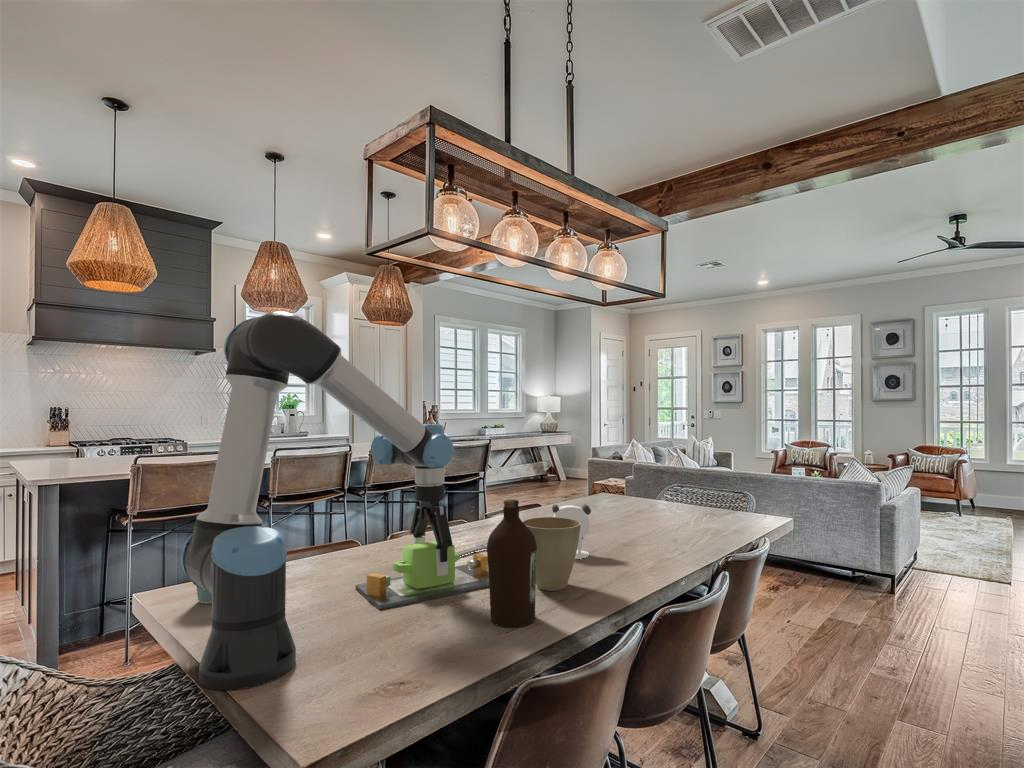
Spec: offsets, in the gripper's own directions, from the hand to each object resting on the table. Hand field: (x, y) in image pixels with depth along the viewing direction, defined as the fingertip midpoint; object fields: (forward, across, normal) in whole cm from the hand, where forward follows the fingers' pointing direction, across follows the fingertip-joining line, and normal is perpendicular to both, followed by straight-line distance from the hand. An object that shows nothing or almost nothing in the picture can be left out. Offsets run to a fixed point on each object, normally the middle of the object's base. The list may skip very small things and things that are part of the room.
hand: (430, 568), depth 140 cm
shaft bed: (+4, 0, 0) cm, 4 cm away
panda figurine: (+5, +3, -48) cm, 48 cm away
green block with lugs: (+3, 0, 0) cm, 3 cm away
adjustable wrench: (+5, +24, -23) cm, 34 cm away
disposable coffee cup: (+5, +21, +47) cm, 52 cm away
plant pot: (+5, -18, -25) cm, 31 cm away
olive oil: (+5, -31, -5) cm, 32 cm away
